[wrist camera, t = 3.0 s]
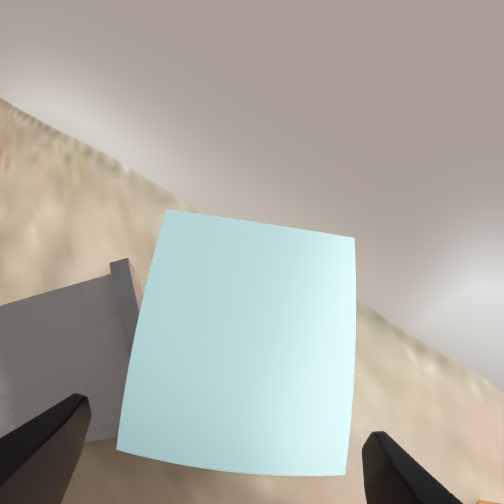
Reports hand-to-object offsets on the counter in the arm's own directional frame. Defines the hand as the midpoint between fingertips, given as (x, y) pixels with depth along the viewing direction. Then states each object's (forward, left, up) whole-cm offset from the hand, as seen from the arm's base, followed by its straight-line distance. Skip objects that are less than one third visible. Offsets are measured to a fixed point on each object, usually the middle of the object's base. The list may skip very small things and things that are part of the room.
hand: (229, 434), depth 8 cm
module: (+1, +2, -10) cm, 10 cm away
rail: (-15, +6, -10) cm, 19 cm away
